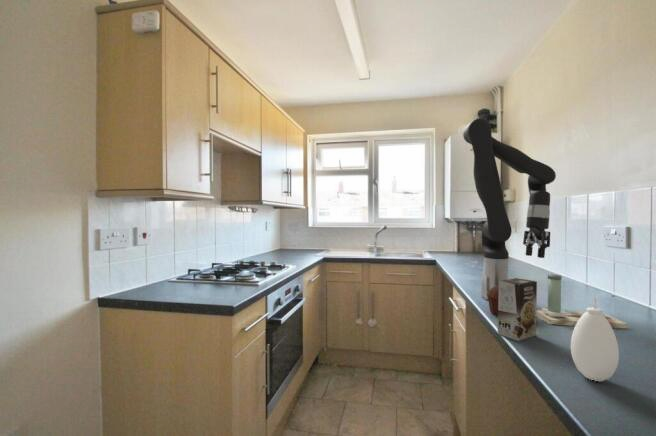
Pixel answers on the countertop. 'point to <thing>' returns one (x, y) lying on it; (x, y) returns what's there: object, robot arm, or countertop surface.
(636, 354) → the countertop surface
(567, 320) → the beige flat wavy piece
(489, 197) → the robot arm
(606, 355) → the sauce bottle
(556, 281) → the green cylindrical container
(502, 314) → the coffee box
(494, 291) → the muffin
